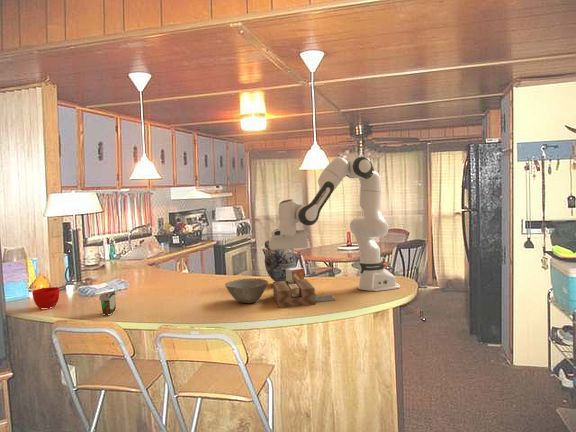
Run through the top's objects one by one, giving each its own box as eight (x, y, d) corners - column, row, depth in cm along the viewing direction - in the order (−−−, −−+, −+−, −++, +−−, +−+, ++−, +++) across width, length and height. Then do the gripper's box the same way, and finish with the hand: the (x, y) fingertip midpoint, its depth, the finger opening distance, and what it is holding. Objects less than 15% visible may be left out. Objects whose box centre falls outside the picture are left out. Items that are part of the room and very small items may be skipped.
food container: (104, 311, 253) (102, 291, 252) (116, 310, 253) (115, 290, 252) (97, 317, 240) (95, 297, 240) (110, 316, 241) (108, 296, 240)
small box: (293, 294, 267) (291, 270, 266) (286, 292, 272) (285, 268, 272) (305, 291, 272) (304, 268, 271) (298, 289, 277) (297, 266, 276)
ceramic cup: (47, 312, 256) (45, 293, 255) (28, 310, 265) (27, 291, 264) (70, 306, 267) (68, 288, 266) (51, 304, 276) (49, 286, 275)
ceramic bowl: (236, 309, 240) (234, 289, 240) (219, 301, 261) (218, 282, 260) (277, 302, 251) (275, 282, 250) (258, 294, 271) (257, 276, 270)
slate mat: (331, 296, 257) (331, 295, 257) (335, 300, 247) (335, 299, 247) (312, 297, 256) (312, 296, 256) (315, 302, 246) (315, 301, 246)
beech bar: (296, 291, 255) (296, 283, 254) (299, 295, 245) (299, 287, 245) (288, 292, 254) (288, 284, 254) (291, 296, 244) (291, 288, 244)
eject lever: (295, 290, 262) (295, 280, 261) (301, 298, 244) (300, 287, 244) (286, 291, 261) (285, 281, 261) (290, 299, 243) (290, 287, 243)
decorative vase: (277, 289, 280) (274, 240, 279) (258, 286, 294) (255, 239, 293) (305, 283, 293) (302, 236, 292) (286, 280, 308) (283, 235, 306)
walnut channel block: (307, 293, 266) (306, 279, 265) (315, 304, 242) (314, 288, 241) (273, 296, 263) (272, 281, 263) (278, 307, 240) (277, 291, 239)
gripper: (306, 229, 262) (307, 255, 263) (268, 231, 260) (269, 257, 261) (308, 230, 256) (310, 256, 257) (269, 232, 253) (270, 259, 254)
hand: (289, 257), depth 259 cm, fingers closed
